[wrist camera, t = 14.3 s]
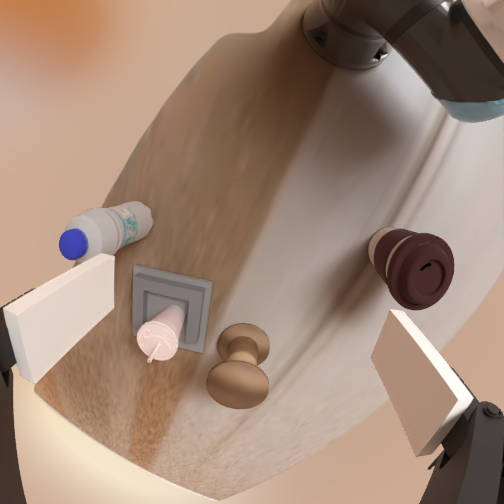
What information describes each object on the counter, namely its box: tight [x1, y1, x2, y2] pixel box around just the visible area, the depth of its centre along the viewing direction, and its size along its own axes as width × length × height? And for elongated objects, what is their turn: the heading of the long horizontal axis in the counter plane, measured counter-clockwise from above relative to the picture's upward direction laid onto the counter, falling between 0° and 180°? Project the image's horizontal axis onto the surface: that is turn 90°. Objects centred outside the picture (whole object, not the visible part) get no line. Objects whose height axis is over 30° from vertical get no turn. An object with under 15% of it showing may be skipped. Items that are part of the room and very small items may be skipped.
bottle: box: [59, 201, 153, 263], centre depth 36 cm, size 7×7×20 cm
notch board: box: [132, 264, 213, 353], centre depth 48 cm, size 14×14×3 cm
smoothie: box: [137, 305, 185, 363], centre depth 42 cm, size 6×6×14 cm
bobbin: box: [206, 323, 269, 409], centre depth 44 cm, size 9×9×12 cm
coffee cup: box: [368, 227, 454, 310], centre depth 37 cm, size 10×10×15 cm
